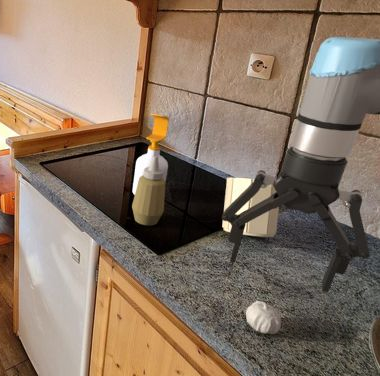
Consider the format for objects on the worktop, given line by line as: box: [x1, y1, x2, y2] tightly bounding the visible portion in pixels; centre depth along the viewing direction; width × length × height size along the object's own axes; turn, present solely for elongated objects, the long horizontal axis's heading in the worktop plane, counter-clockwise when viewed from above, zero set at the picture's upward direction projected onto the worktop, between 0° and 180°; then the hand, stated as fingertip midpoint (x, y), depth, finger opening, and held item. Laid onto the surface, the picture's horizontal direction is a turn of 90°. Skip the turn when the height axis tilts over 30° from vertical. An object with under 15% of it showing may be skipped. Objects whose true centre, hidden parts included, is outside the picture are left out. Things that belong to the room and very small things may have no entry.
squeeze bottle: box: [131, 156, 166, 227], centre depth 103 cm, size 8×8×18 cm
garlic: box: [245, 300, 282, 335], centre depth 71 cm, size 6×5×5 cm
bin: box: [221, 177, 280, 238], centre depth 98 cm, size 11×11×13 cm
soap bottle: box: [132, 113, 170, 196], centre depth 116 cm, size 9×9×25 cm
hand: (276, 272), depth 67 cm, fingers open, 13 cm apart
